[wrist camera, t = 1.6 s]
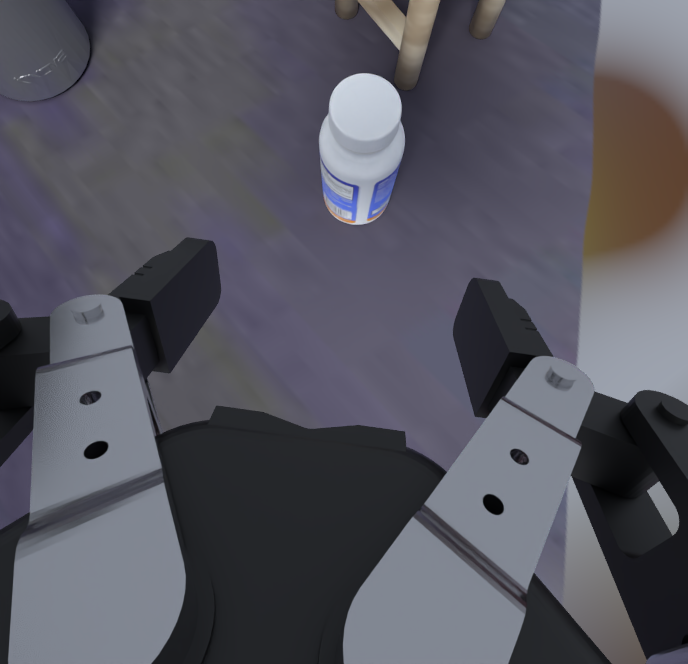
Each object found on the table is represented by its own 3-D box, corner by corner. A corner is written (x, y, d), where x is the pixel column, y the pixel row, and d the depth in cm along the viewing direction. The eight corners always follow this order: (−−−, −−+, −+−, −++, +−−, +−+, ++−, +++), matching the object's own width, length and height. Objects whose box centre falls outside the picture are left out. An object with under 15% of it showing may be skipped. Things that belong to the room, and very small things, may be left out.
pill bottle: (382, 160, 29) (406, 53, 19) (394, 222, 28) (425, 143, 19) (317, 169, 29) (309, 65, 19) (328, 231, 28) (324, 156, 18)
